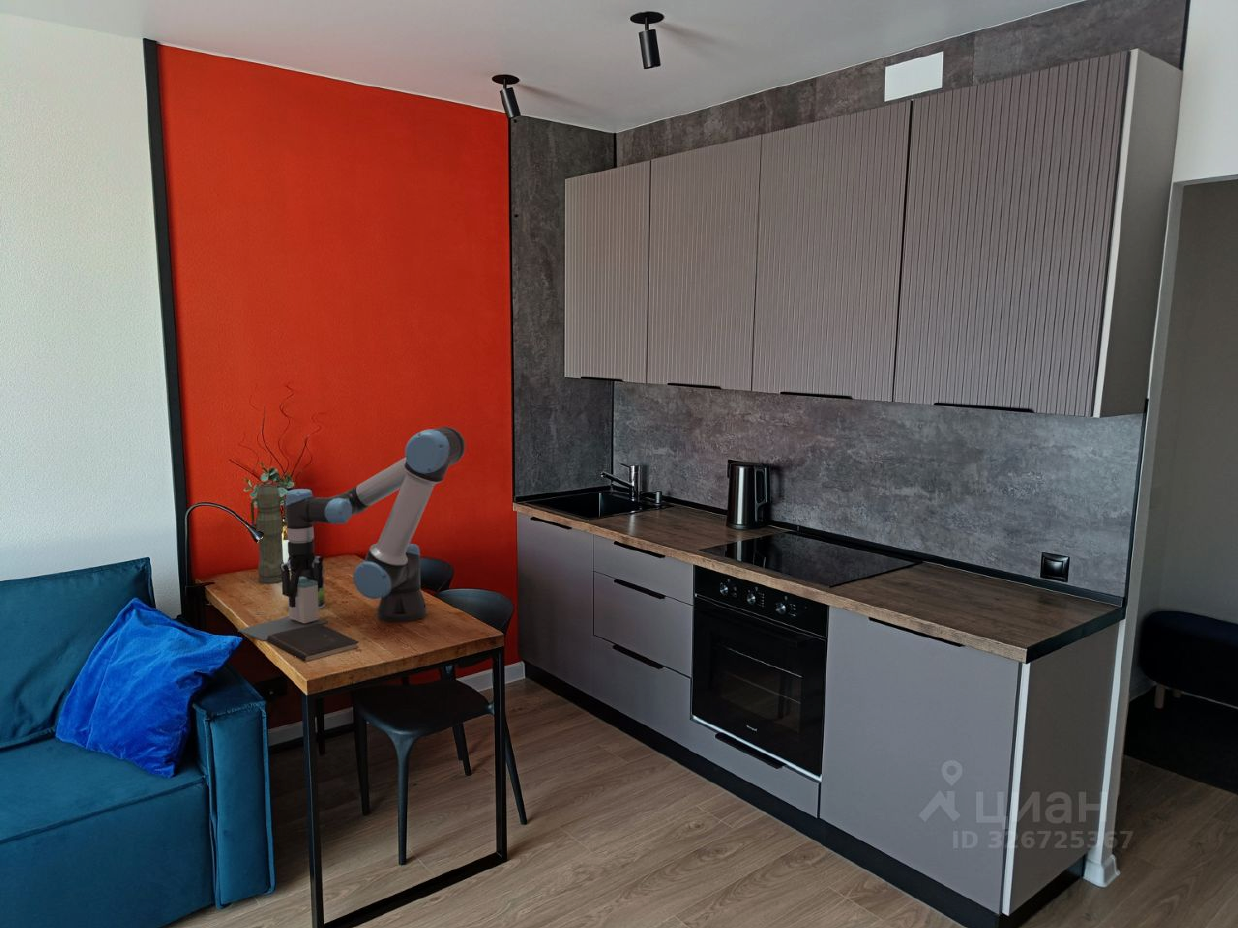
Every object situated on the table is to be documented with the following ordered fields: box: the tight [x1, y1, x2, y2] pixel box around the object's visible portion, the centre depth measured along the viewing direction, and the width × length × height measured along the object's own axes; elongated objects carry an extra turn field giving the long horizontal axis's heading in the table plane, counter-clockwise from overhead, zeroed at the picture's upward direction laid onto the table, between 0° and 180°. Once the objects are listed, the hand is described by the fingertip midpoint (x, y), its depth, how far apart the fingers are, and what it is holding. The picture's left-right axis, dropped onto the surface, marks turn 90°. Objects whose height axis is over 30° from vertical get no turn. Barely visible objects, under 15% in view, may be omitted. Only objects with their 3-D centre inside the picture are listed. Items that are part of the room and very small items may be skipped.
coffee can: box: [289, 561, 326, 610], centre depth 276 cm, size 10×10×14 cm
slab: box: [287, 577, 320, 623], centre depth 260 cm, size 8×5×12 cm, turn 53°
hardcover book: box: [267, 623, 360, 663], centre depth 242 cm, size 16×23×2 cm
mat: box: [237, 615, 328, 642], centre depth 257 cm, size 14×21×1 cm, turn 143°
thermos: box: [249, 483, 287, 585], centre depth 305 cm, size 9×12×35 cm
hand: (304, 614), depth 261 cm, fingers closed on slab, 5 cm apart
